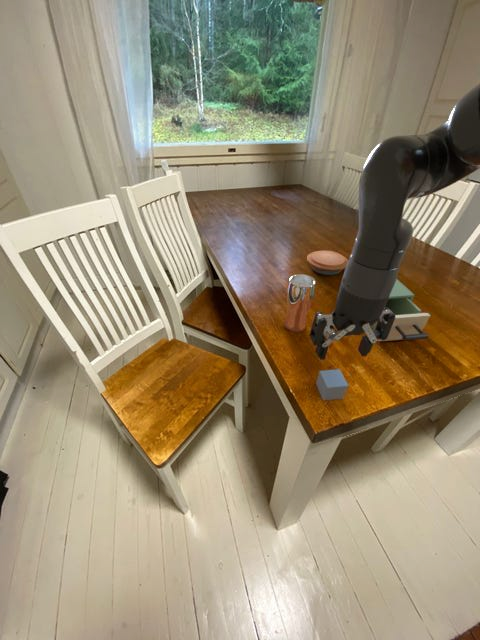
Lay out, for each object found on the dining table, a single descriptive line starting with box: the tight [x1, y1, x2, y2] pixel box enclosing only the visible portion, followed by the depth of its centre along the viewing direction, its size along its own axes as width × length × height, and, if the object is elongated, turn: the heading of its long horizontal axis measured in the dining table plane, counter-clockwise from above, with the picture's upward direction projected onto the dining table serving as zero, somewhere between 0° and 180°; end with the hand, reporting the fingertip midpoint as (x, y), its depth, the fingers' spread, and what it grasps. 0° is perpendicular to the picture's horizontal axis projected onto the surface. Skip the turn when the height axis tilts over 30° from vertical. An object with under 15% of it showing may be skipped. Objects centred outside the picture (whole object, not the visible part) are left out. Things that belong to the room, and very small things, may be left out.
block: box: [315, 368, 349, 402], centre depth 60 cm, size 5×5×5 cm
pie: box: [306, 250, 349, 276], centre depth 105 cm, size 16×16×5 cm
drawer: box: [371, 298, 431, 342], centre depth 75 cm, size 20×11×8 cm, turn 7°
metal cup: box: [284, 273, 317, 333], centre depth 74 cm, size 7×7×15 cm
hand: (341, 354), depth 54 cm, fingers open, 8 cm apart
